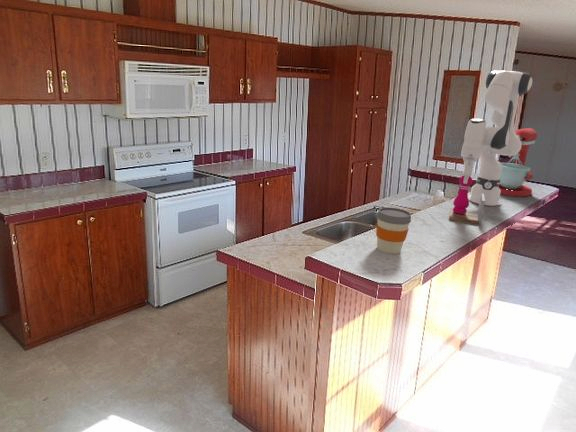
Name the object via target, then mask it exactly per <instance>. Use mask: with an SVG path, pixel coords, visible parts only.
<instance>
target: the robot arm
mask: <svg viewBox="0 0 576 432" xmlns="http://www.w3.org/2000/svg"><path fill="white" fill-rule="evenodd" d="M532 85H533V76H532V75H531V73H529V72H528V73H527V72H522V71H518V70H499V69H498V70H491V71H490V72H488V74H487V76H486V79H485V87H486V89H487V90H486V92H485V95H484V101H485V103H486V105H487V106H488V107H489V108H490V109H492V110H493V112H492V116H491V122H492V124H493V125H495V126H489V125H487V121H486V120H485V119H482V118H477V117H476V118H471V119H469V120H468V122H467V125H466V127H465V132H464V135H463V136H464V137H463V138H464V141H463V143H462V145H461V152H460V157H462V160H463V171H462V173H463V174H462V176H464V181H463V183H464V184H467V182H468V178H469V176H470V177H472V175H473V168H474V164H475V162H477V161H478V159H479V160H480V166H479V172H478V175H477V177H476V182H475V184H473V186H472V187H470V193H469V194H468V200H469V202H472V203H475V204H478V205H479V202H480V198H481V193H482V194H484V198H485V203H484V206H489V207H490V206H502V205H503V203H502V202H501V201H500V196H501V194H500V192H501V190H500V189H499V187H498V186H499V184H500V175H501V171H502V165H501V163H502V162H500V161H499V160H498V159H497V158H496V155H501V156H505V157H507V156H508V157H509V156H510V157H511V156H512V157H513V156H514V155H516V154H517V153H518V152H519V151H520V149H521V141H520V139H519V138H518V137H517V135H516V133H515V131H516V130H515V125H514V124H515V119H516V114H517V111H518V106H519V100H520V97H522V96H523V95H525V94H527V93H528V92H529V91H530V89H531V88H532Z"/></svg>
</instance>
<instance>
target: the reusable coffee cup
mask: <svg viewBox="0 0 576 432" xmlns="http://www.w3.org/2000/svg"><path fill="white" fill-rule="evenodd" d="M376 219H377V223H376V227H375V228H376V231H375V233H376V234H375V235H376V238H377V239H376V243H377V244H376V245H377V246H376V248H377V250H378V251H380V252H382V253H384V254H390V255H391V254H392V255H393V254H394V255H395V254H396V255H397V254H399V253H401V252H402V249H403V245H404V241H406V238H407V235H408V232H409V225H410V223H411V221H412V220H411V219H412V213H411V212H410V211H407V210H406V209H405V210H404V209H400V208H397V207H380V208H379V209H378V211H377V216H376Z"/></svg>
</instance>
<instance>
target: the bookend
mask: <svg viewBox="0 0 576 432" xmlns="http://www.w3.org/2000/svg"><path fill="white" fill-rule="evenodd" d="M484 203H485V198H484V194H482V193H481V198H480V202H479V204H478V208H477V212H475V211H469V210H467V211H466V214H459V213H455V212H453V208H454V207H453V208H452V207H451V208H450V210H449V217H448V220H449V221H452V222H458V223H464V224H469V225H470V224H471V225H475V226H480V224H481V221H482V216H483V213H484V207H485V205H484Z"/></svg>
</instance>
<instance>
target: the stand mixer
mask: <svg viewBox="0 0 576 432" xmlns="http://www.w3.org/2000/svg"><path fill="white" fill-rule="evenodd" d="M515 133H516V135H517V137H518V138H519V139H520V141H521V149H520V151H519V152H518V153H517V154H516V155H514V156H512V157H511V159H510V160H509V161H507V162H500V163H501V165H502V171H501V175H500V184H499V186H498V187H499V189H500V190H501V192H500V195H502V194H504V195H503V196H507V195H509V196H508V197H514V196H527V197H529V195H530V196H531V195H532V193H533V190H532V187H529V186H527V185H524V183H525V182H526V180H527V181H528V180H532V179H533V174H532V173H531V167H529V166H526V165H525V164H526V159H527V155H528V152H529V148H530V145H533V144H536V139H537V135H538V133H537V131H536V130H535V129H533V128H532V127H528V128H519V129H517V130H515ZM506 189H508V190H506ZM511 190H513V191H511Z"/></svg>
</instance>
